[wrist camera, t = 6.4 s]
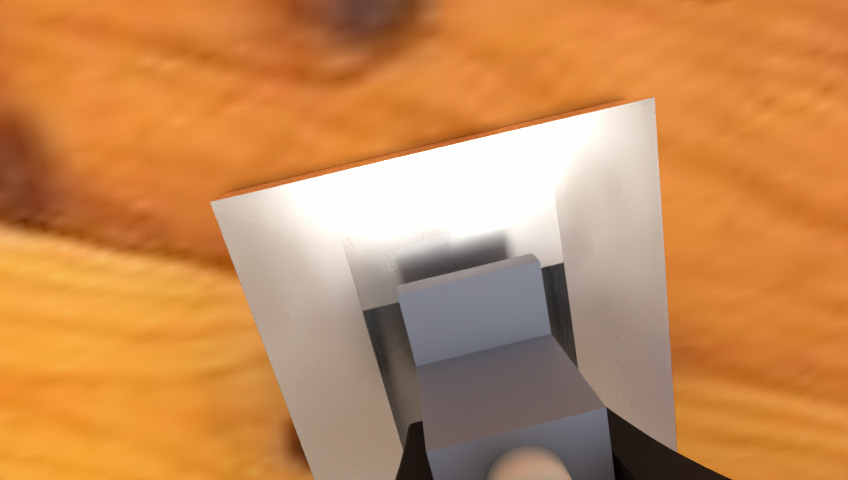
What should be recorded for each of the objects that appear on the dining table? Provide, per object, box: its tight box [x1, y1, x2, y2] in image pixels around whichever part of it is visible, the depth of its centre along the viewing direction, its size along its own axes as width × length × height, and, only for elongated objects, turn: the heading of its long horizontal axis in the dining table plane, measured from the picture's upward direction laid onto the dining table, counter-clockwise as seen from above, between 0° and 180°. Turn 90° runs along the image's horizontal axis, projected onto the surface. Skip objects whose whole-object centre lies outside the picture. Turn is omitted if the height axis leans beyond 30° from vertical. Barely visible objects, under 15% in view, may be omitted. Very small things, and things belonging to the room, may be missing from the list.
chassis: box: [210, 97, 677, 480], centre depth 15 cm, size 16×12×2 cm
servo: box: [397, 253, 615, 480], centre depth 11 cm, size 10×4×6 cm, turn 13°
